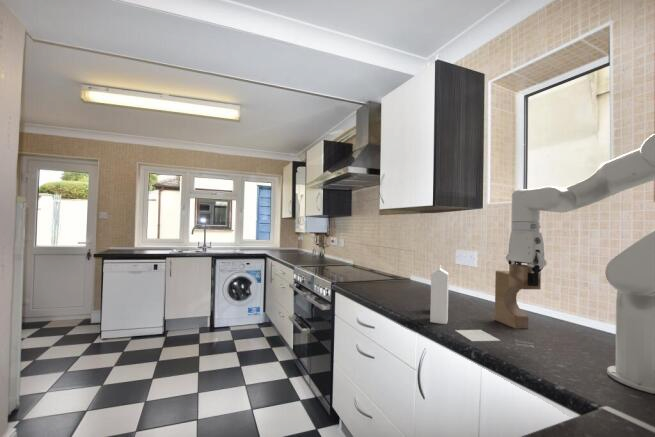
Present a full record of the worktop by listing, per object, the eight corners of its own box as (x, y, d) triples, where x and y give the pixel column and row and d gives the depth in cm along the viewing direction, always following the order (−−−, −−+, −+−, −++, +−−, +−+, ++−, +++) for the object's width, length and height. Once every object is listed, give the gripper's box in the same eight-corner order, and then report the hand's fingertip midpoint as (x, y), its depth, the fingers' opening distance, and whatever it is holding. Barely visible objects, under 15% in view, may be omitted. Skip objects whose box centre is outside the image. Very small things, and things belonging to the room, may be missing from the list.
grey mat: (500, 341, 97) (500, 340, 97) (472, 342, 96) (472, 341, 96) (480, 330, 107) (480, 329, 107) (454, 331, 106) (454, 330, 106)
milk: (430, 322, 115) (430, 265, 116) (432, 318, 121) (432, 263, 121) (446, 324, 112) (447, 266, 113) (448, 320, 118) (448, 264, 119)
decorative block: (529, 329, 110) (529, 275, 111) (515, 329, 109) (516, 275, 110) (506, 319, 121) (507, 270, 122) (494, 320, 120) (494, 270, 121)
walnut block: (540, 289, 93) (540, 267, 93) (523, 289, 92) (523, 266, 92) (525, 285, 99) (525, 264, 99) (508, 285, 98) (509, 264, 98)
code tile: (545, 353, 88) (545, 352, 88) (506, 346, 93) (506, 345, 93) (541, 343, 97) (541, 342, 97) (505, 336, 102) (505, 335, 102)
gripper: (559, 228, 88) (559, 289, 88) (515, 227, 105) (514, 279, 105) (536, 227, 87) (536, 289, 87) (495, 227, 104) (495, 278, 104)
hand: (524, 283), depth 96 cm, fingers closed on walnut block, 6 cm apart
